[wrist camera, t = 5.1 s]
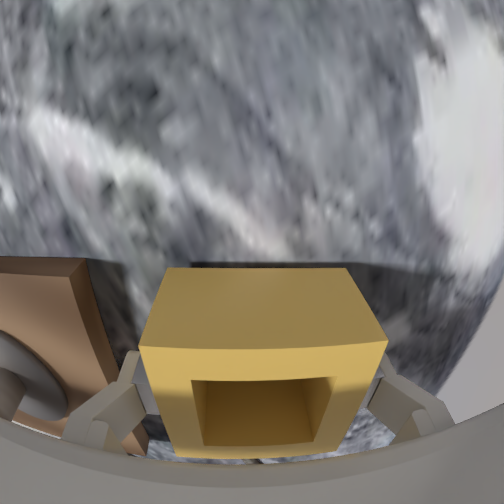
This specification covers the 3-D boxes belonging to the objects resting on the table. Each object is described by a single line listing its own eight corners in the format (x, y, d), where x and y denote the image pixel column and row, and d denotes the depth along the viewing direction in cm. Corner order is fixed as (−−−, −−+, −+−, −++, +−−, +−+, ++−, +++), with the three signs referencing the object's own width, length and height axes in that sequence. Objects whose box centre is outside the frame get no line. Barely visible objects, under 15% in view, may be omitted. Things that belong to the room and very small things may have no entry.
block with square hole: (318, 382, 14) (336, 451, 10) (185, 384, 13) (176, 456, 10) (345, 267, 11) (388, 340, 7) (167, 267, 10) (138, 345, 7)
